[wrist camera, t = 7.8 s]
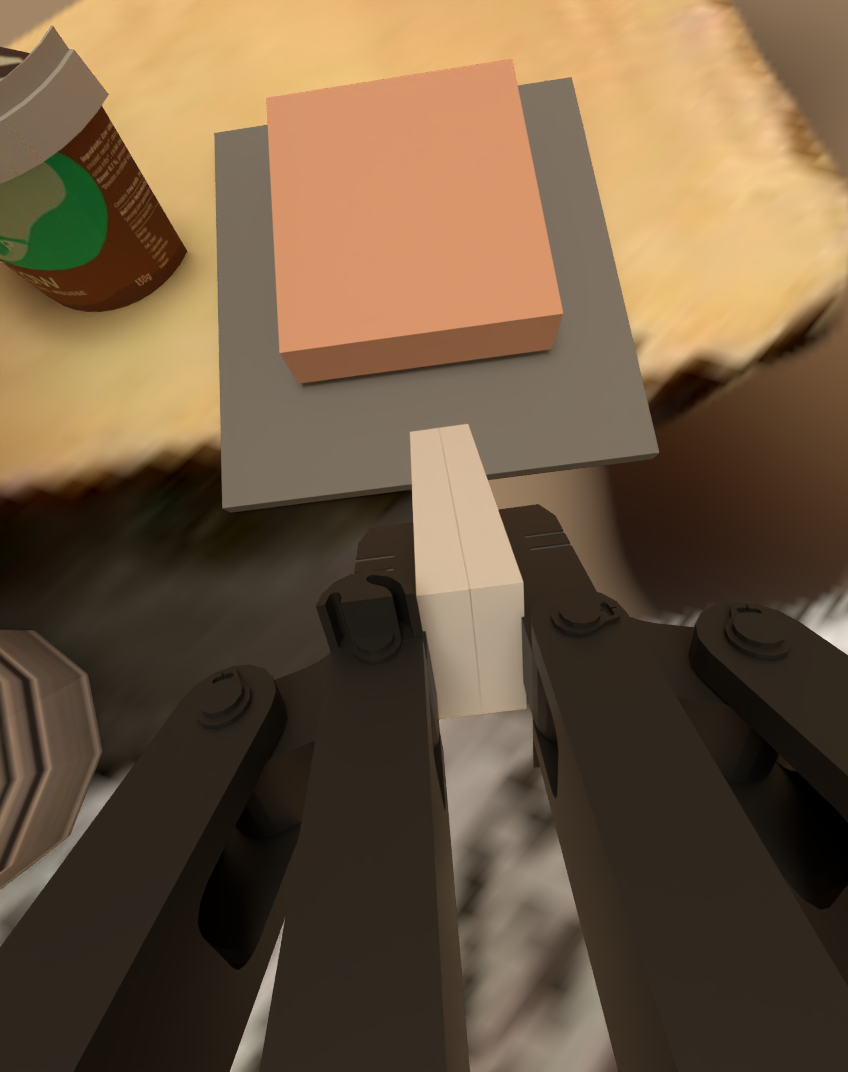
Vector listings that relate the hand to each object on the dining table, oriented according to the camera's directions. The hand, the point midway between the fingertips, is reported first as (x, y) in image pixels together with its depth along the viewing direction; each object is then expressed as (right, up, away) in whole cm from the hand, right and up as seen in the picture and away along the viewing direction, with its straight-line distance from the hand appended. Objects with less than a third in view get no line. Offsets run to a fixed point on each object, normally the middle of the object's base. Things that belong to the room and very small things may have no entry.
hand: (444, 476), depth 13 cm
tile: (-1, +7, +8) cm, 11 cm away
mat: (-1, +11, +12) cm, 17 cm away
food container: (-19, +12, +14) cm, 26 cm away
